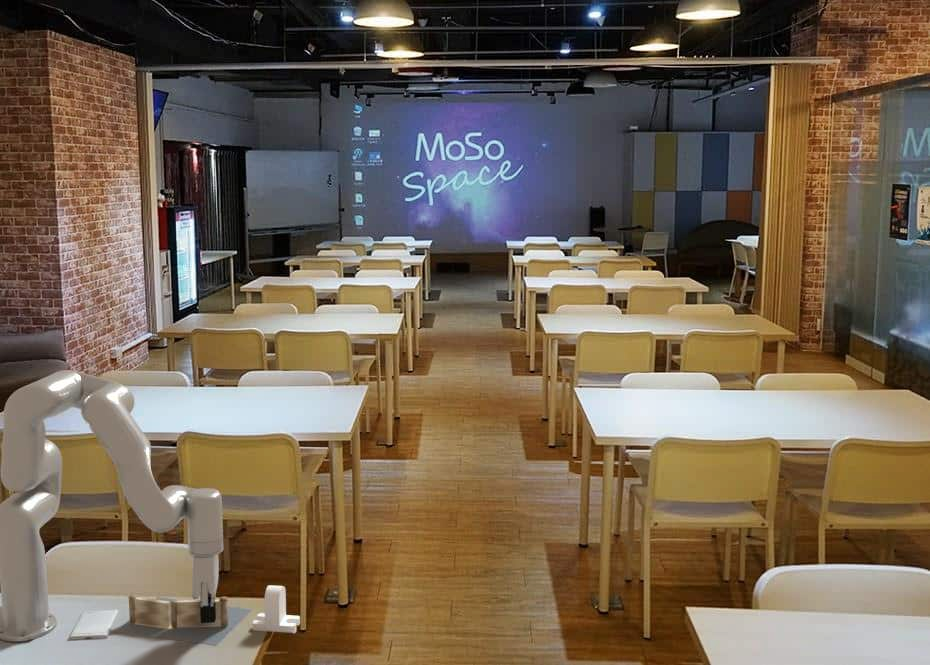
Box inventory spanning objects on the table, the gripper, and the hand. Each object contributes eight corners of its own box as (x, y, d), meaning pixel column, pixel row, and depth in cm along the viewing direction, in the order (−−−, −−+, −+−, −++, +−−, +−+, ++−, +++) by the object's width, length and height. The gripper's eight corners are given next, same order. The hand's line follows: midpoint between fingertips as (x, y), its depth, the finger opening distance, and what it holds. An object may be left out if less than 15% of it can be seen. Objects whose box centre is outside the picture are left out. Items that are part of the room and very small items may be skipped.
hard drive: (82, 611, 226) (68, 636, 214) (119, 609, 228) (107, 634, 215) (83, 617, 227) (69, 643, 215) (119, 616, 228) (107, 641, 216)
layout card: (115, 632, 219) (115, 630, 219) (157, 598, 236) (157, 597, 236) (216, 646, 213) (216, 645, 213) (252, 610, 230) (252, 609, 230)
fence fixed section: (128, 623, 222) (127, 597, 221) (132, 619, 224) (131, 593, 223) (167, 628, 220) (166, 602, 219) (171, 625, 222) (170, 599, 221)
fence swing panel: (170, 627, 220) (169, 600, 219) (172, 624, 221) (171, 597, 220) (227, 626, 221) (226, 599, 220) (228, 623, 222) (228, 596, 221)
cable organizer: (259, 620, 226) (258, 580, 224) (300, 623, 225) (300, 583, 223) (252, 631, 220) (251, 590, 219) (294, 634, 219) (293, 593, 218)
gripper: (192, 532, 222) (195, 607, 225) (184, 558, 207) (187, 638, 210) (226, 531, 223) (228, 605, 226) (220, 556, 208) (222, 636, 211)
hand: (208, 621), depth 218 cm, fingers closed
